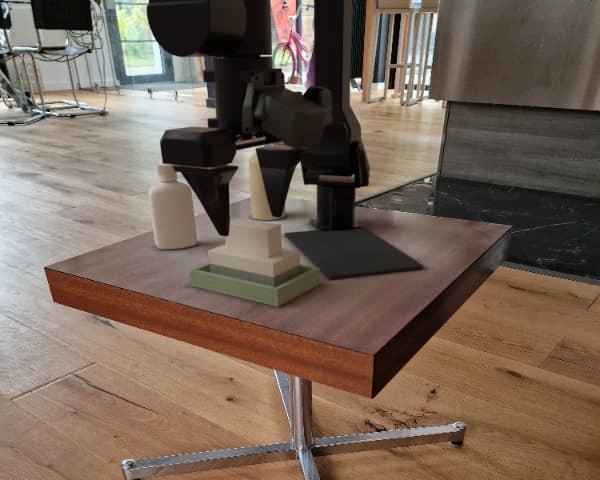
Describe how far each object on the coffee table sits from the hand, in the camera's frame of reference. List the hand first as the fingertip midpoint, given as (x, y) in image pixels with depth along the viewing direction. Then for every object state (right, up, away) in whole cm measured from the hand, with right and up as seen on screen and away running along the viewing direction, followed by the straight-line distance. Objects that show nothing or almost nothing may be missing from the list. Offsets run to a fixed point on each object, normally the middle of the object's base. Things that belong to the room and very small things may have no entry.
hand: (251, 225), depth 61 cm
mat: (+12, +1, +14) cm, 18 cm away
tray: (0, -6, +4) cm, 7 cm away
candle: (0, +11, +31) cm, 33 cm away
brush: (0, -5, +3) cm, 6 cm away
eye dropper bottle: (-12, +2, +18) cm, 21 cm away
